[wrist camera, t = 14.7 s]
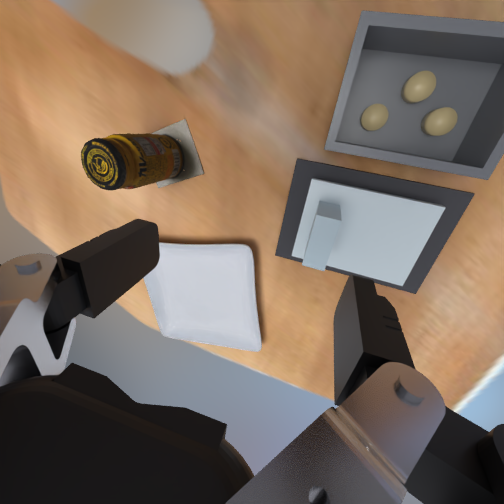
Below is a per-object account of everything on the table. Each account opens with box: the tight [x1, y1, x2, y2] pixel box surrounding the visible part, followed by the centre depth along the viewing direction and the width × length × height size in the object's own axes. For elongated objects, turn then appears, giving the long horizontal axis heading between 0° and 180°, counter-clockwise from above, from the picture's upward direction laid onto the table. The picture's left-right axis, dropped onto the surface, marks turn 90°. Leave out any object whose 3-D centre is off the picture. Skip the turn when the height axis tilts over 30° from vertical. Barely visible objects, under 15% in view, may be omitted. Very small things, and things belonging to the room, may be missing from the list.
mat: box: [275, 159, 474, 294], centre depth 32 cm, size 14×20×1 cm
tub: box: [324, 11, 504, 180], centre depth 23 cm, size 14×10×7 cm
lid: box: [292, 178, 446, 286], centre depth 29 cm, size 15×11×8 cm
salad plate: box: [144, 242, 262, 352], centre depth 44 cm, size 21×21×3 cm
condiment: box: [81, 119, 204, 190], centre depth 31 cm, size 7×8×12 cm
